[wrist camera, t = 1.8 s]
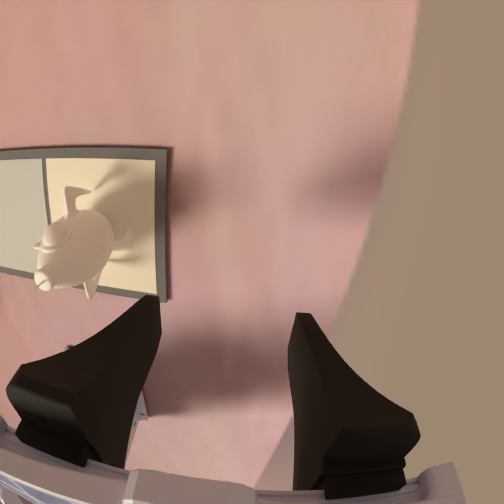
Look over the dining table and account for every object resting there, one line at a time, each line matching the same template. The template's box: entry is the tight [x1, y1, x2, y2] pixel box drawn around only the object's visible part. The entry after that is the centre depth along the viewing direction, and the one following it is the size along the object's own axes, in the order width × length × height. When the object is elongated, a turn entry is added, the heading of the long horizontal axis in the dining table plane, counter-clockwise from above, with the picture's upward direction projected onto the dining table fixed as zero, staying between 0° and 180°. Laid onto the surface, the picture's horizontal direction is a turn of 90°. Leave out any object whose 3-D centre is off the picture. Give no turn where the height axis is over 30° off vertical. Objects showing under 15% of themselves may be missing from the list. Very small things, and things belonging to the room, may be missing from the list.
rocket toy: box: [33, 186, 133, 299], centre depth 17 cm, size 5×5×8 cm
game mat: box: [0, 147, 168, 303], centre depth 20 cm, size 11×27×1 cm, turn 84°
